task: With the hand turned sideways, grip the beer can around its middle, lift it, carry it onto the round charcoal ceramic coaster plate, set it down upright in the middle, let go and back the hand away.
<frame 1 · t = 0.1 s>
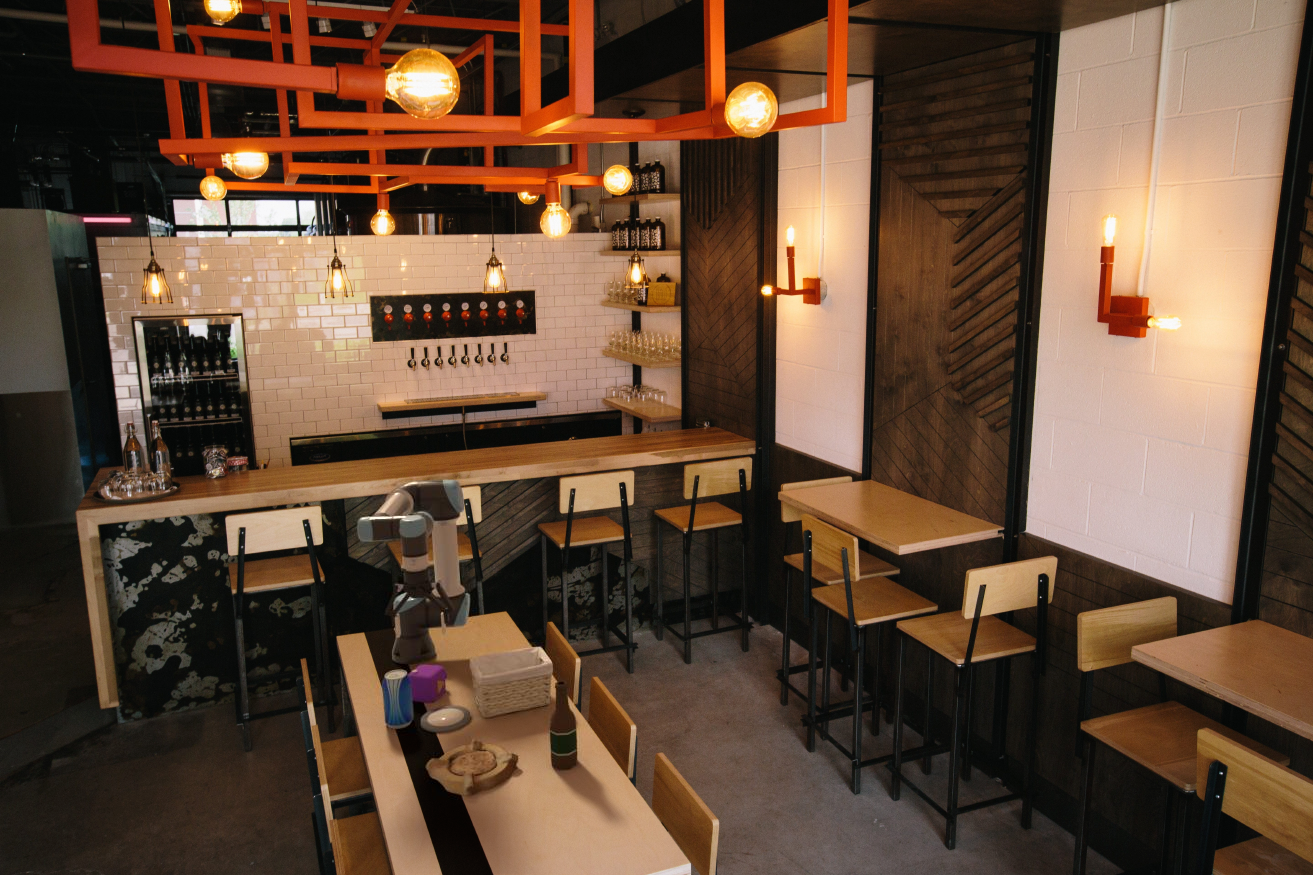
hand: (421, 634, 264), 28 cm above the table, tool pointing down, fingers open, 13 cm apart
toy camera: (429, 695, 285), on the table
ashtray: (473, 772, 240), on the table
beer bottle: (564, 763, 243), on the table
storage basket: (513, 703, 279), on the table
beer can: (399, 723, 267), on the table
coaster plate: (445, 720, 268), on the table
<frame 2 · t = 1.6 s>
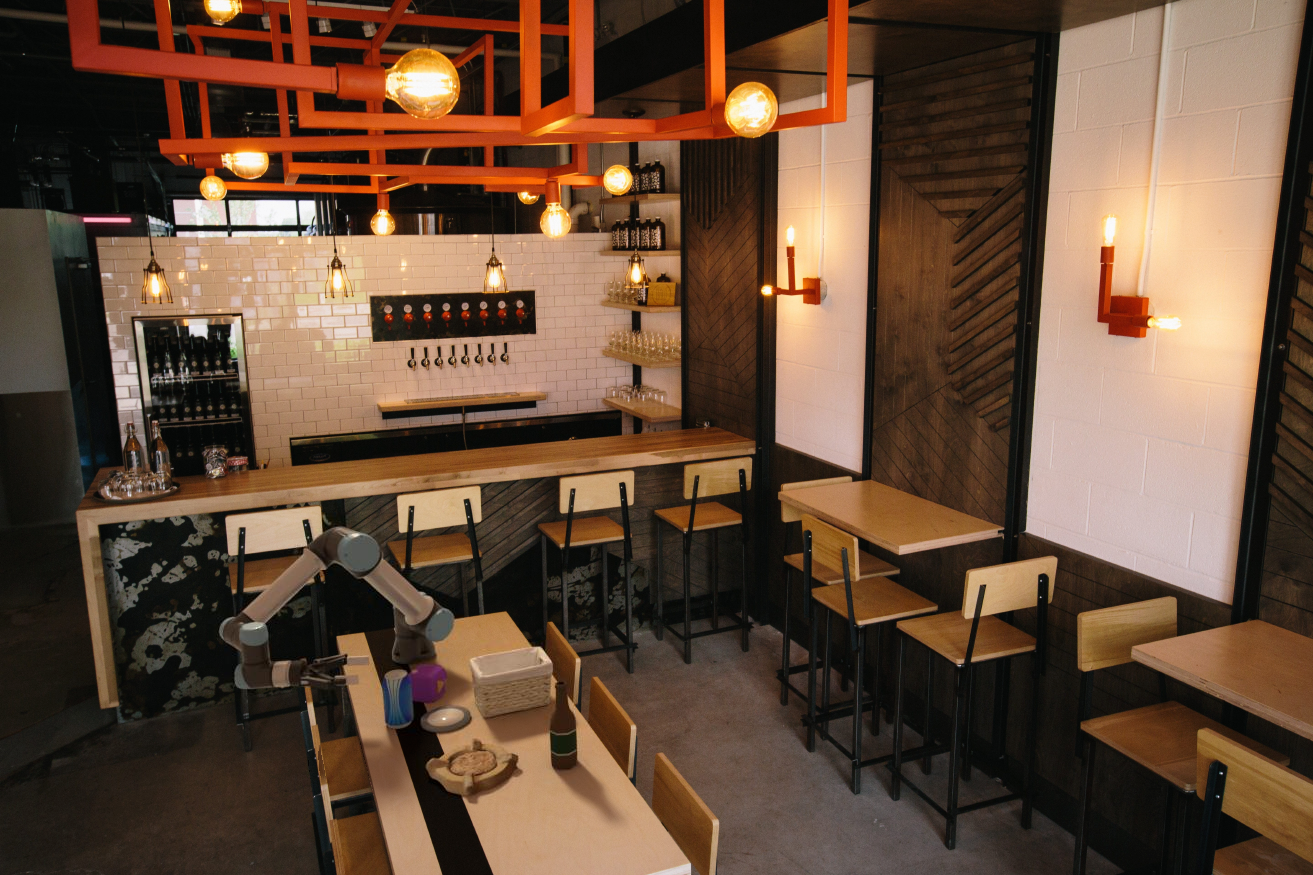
hand: (363, 669, 263), 18 cm above the table, tool horizontal, fingers open, 13 cm apart
nothing on the table moved.
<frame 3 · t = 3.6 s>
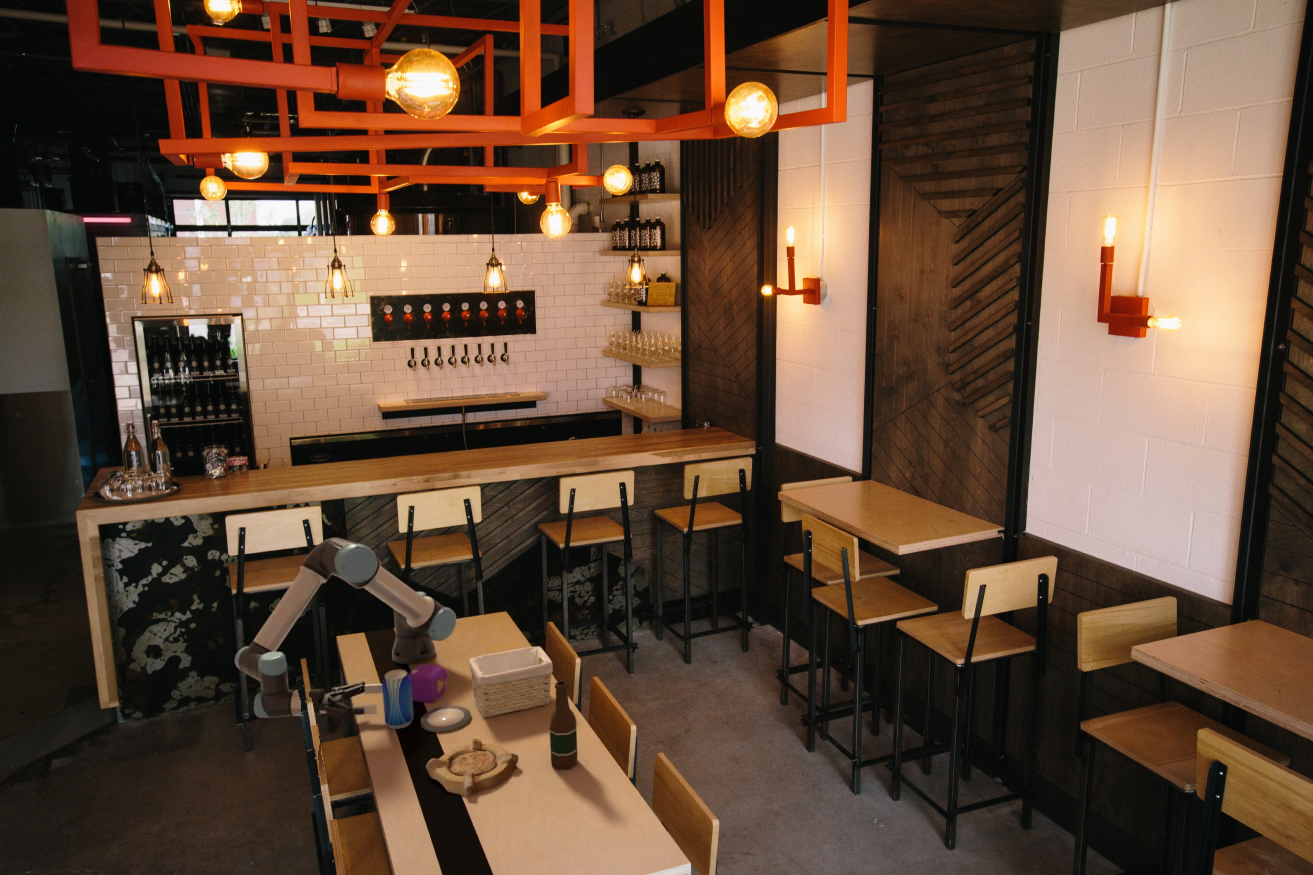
hand: (381, 698, 265), 9 cm above the table, tool horizontal, fingers open, 13 cm apart
nothing on the table moved.
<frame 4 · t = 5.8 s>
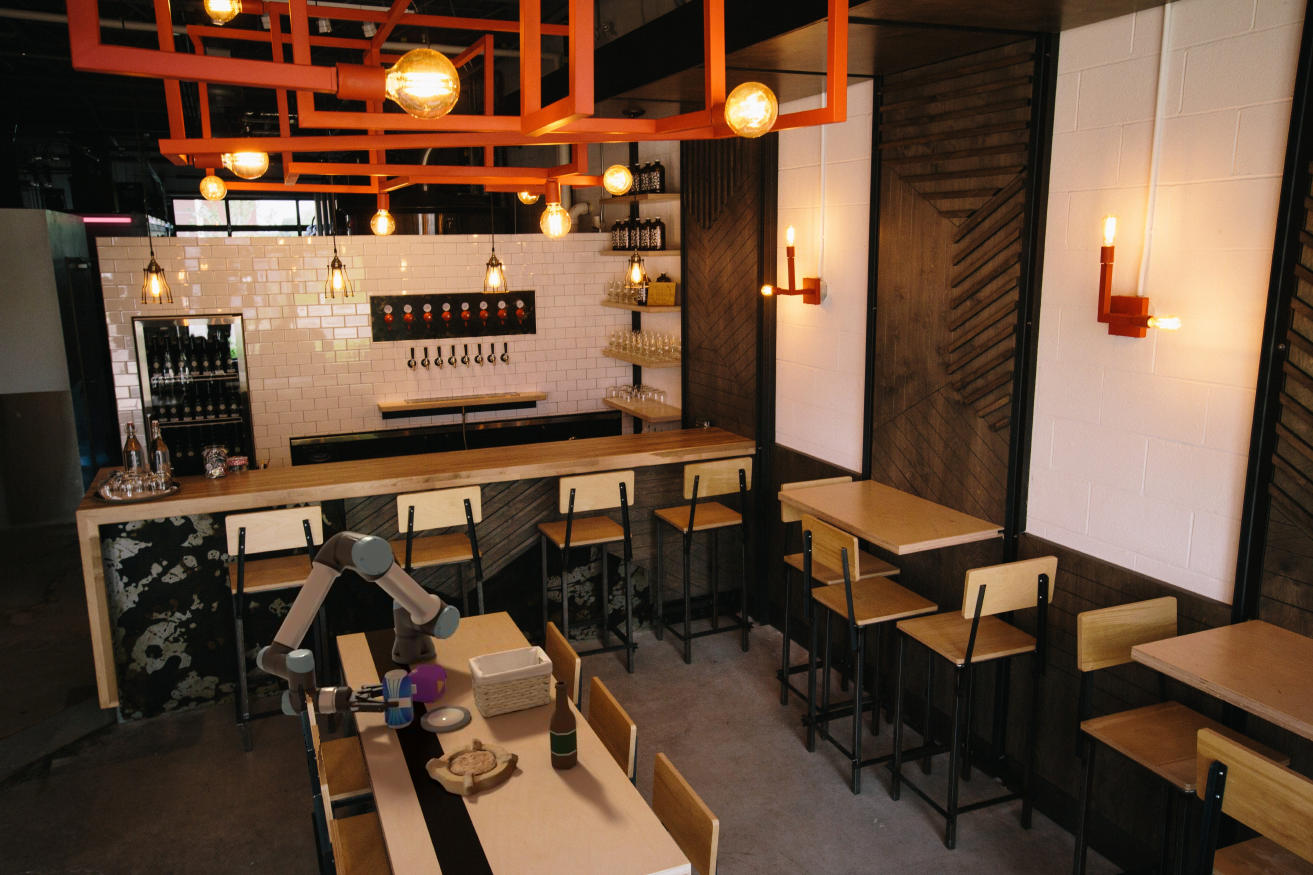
hand: (413, 695, 266), 9 cm above the table, tool horizontal, fingers closed on beer can, 8 cm apart
beer can: (399, 723, 267), on the table, touching gripper
everything else where it was.
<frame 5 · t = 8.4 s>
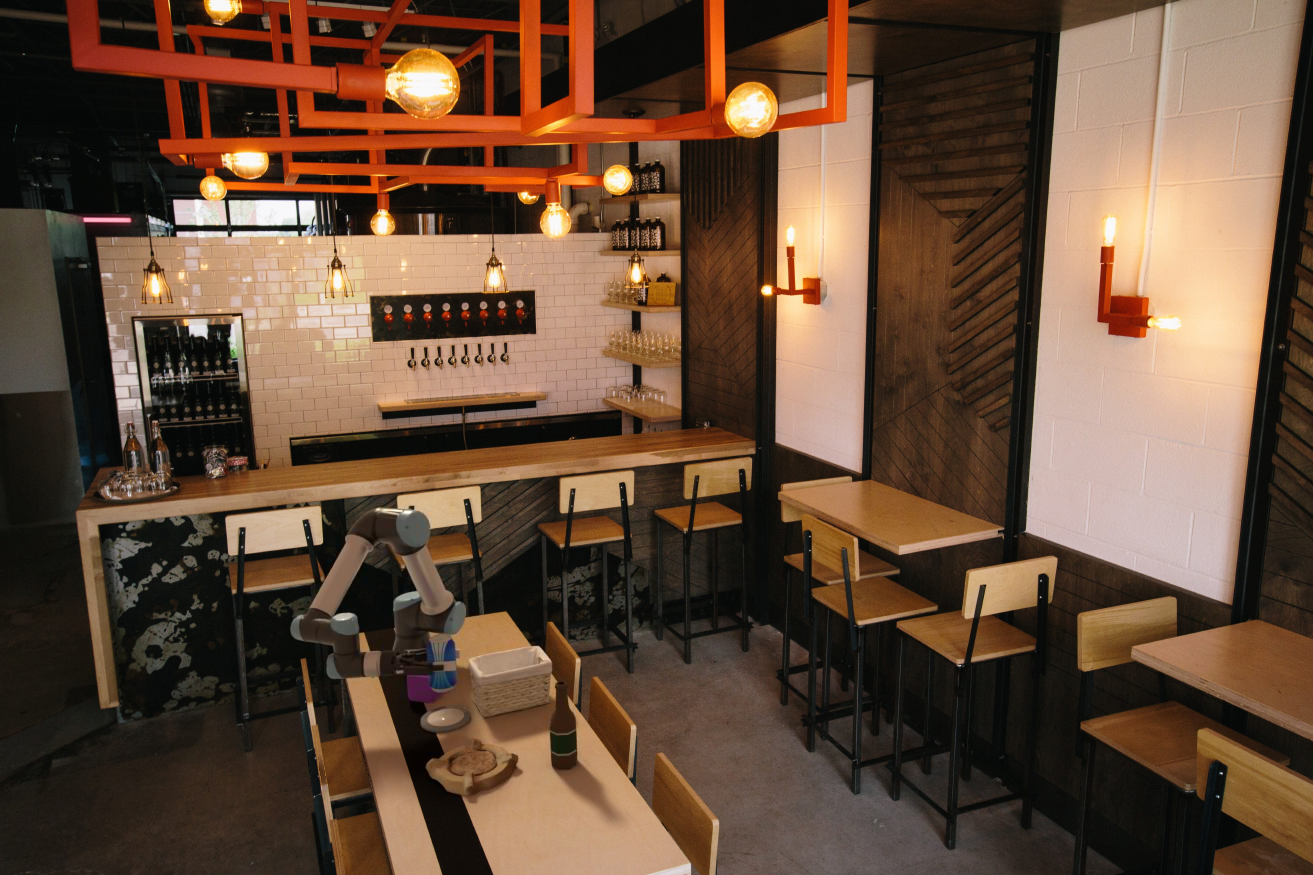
hand: (457, 659, 265), 20 cm above the table, tool horizontal, fingers closed on beer can, 8 cm apart
beer can: (443, 687, 267), point 11 cm above the table, touching gripper
everything else where it was.
when the fingers open (10 cm above the table, at t = 11.2 s): beer can stays where it is, resting on coaster plate.
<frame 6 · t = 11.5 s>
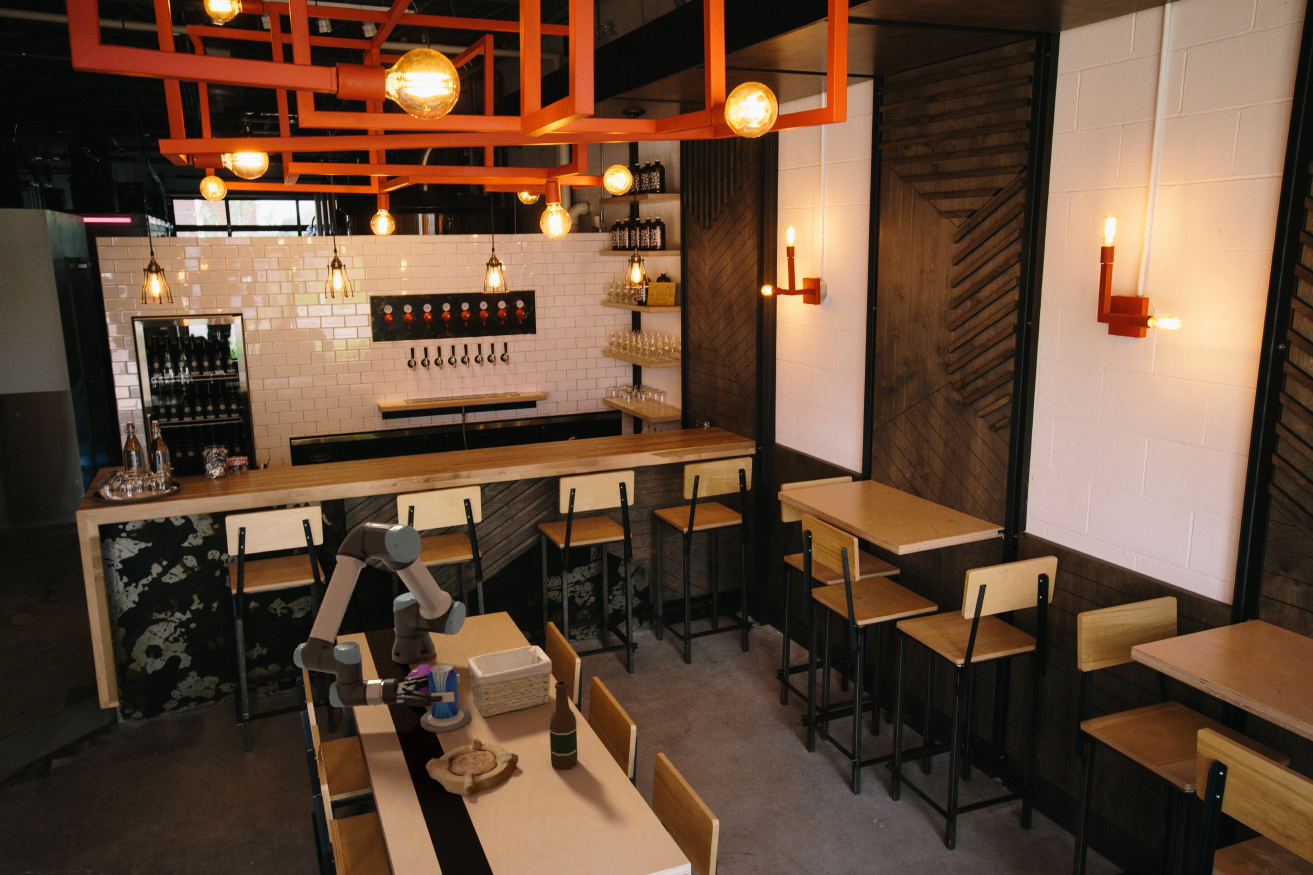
hand: (456, 687, 267), 10 cm above the table, tool horizontal, fingers open, 11 cm apart
beer can: (445, 717, 268), point 1 cm above the table, touching coaster plate
everything else where it was.
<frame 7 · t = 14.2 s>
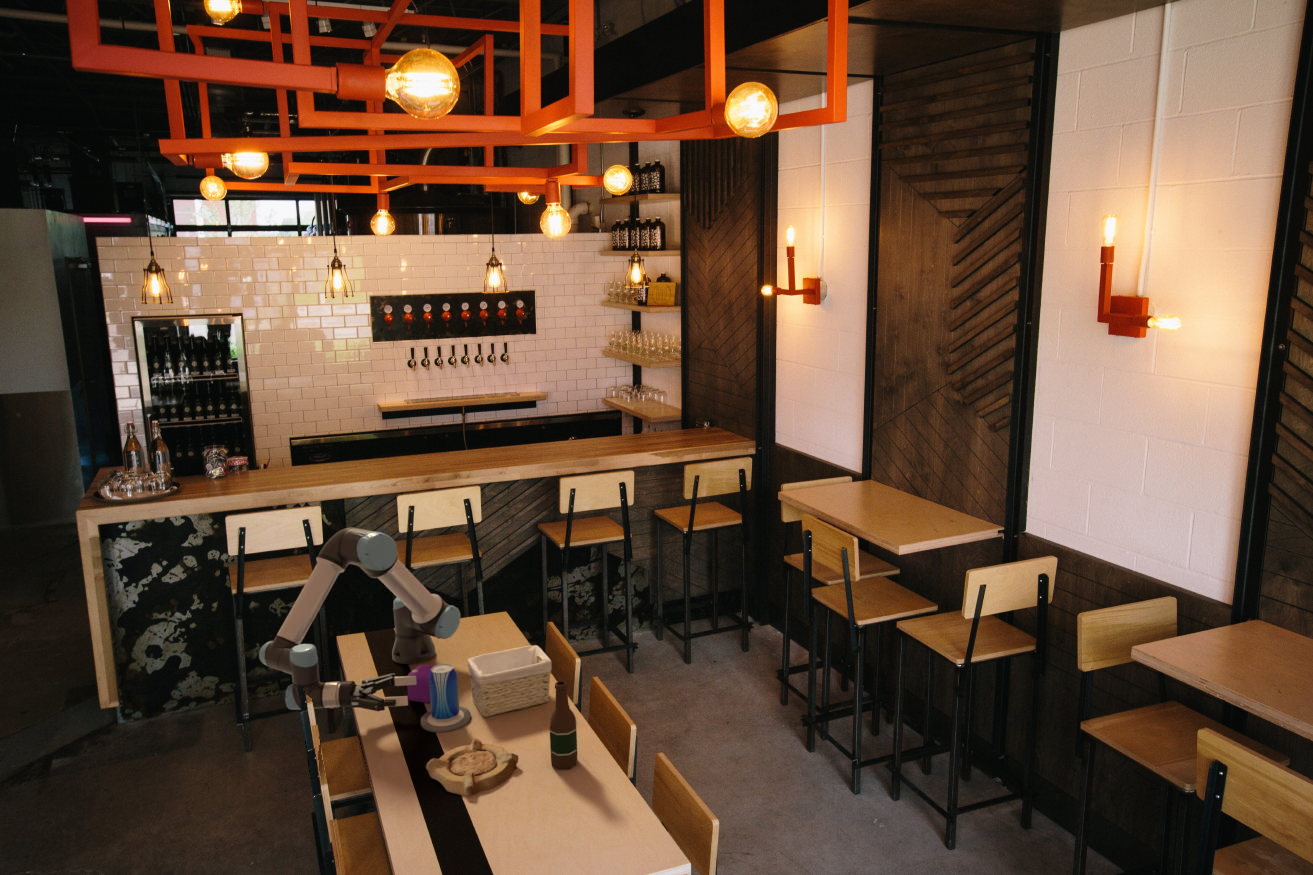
hand: (412, 689, 266), 11 cm above the table, tool horizontal, fingers open, 13 cm apart
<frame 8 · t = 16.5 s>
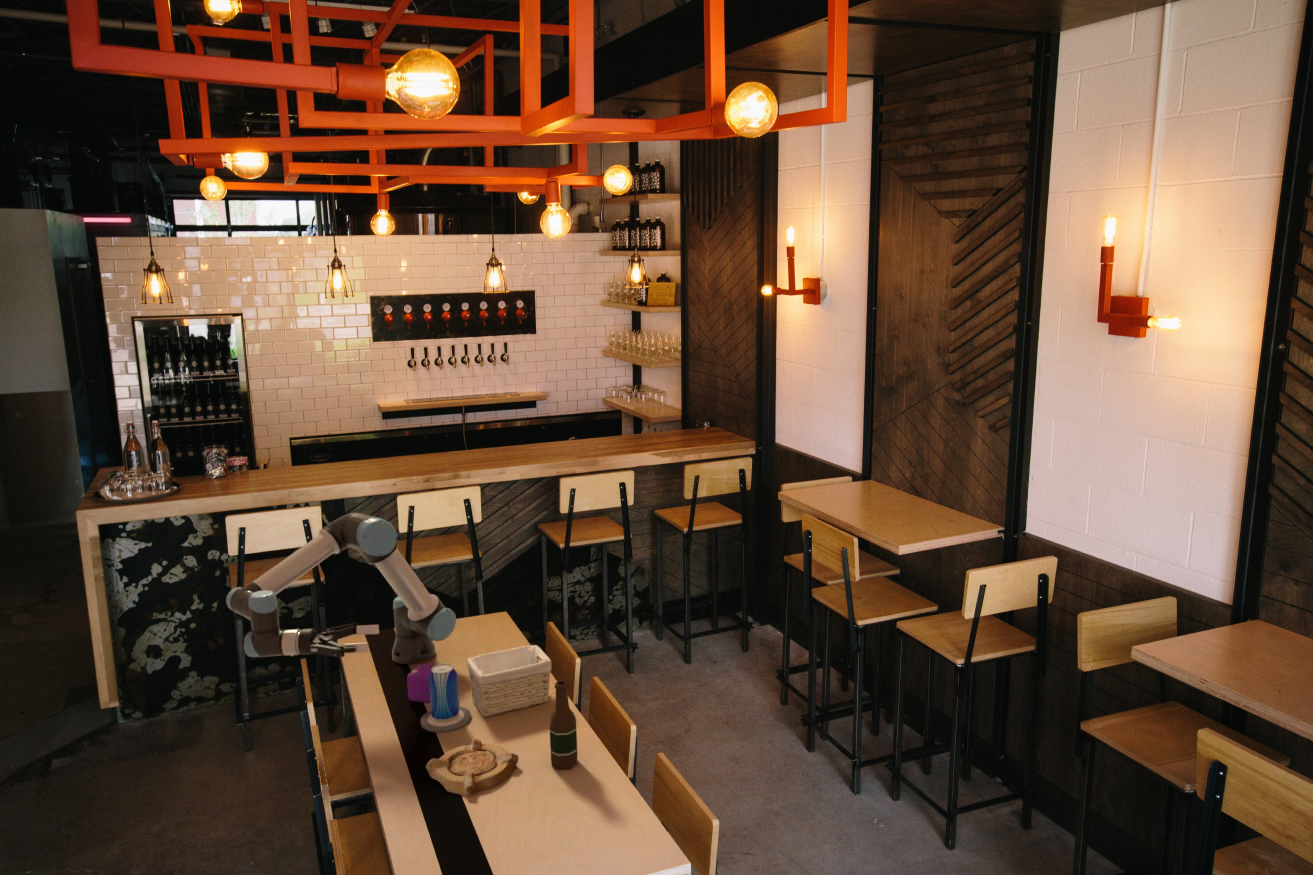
hand: (373, 637, 262), 28 cm above the table, tool horizontal, fingers open, 13 cm apart
at the end: beer can 0.2 cm off-centre on the coaster plate, point 0.9 cm above the coaster plate's base; beer can tilted 0°; the gripper is holding nothing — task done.
